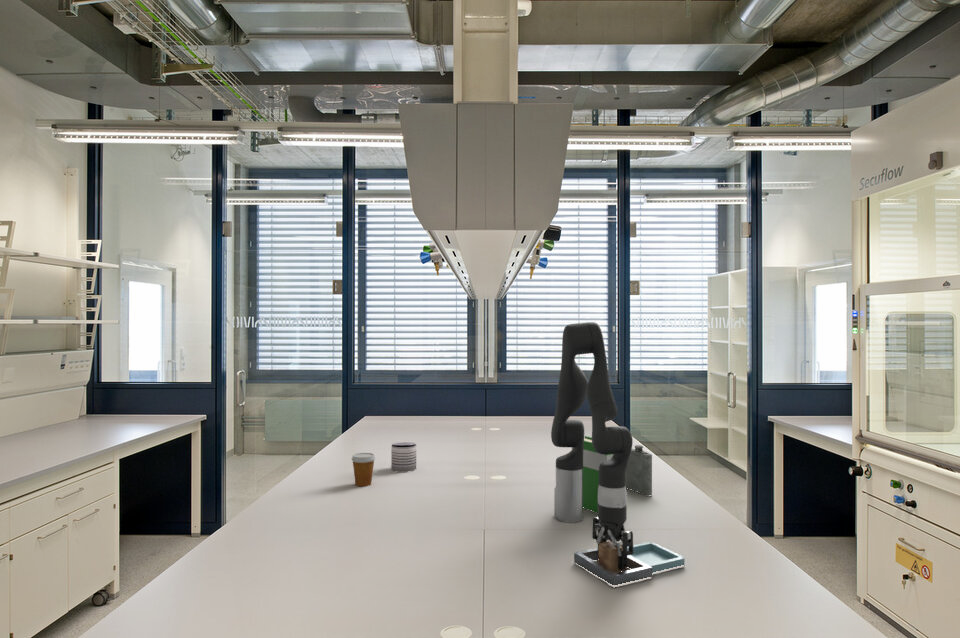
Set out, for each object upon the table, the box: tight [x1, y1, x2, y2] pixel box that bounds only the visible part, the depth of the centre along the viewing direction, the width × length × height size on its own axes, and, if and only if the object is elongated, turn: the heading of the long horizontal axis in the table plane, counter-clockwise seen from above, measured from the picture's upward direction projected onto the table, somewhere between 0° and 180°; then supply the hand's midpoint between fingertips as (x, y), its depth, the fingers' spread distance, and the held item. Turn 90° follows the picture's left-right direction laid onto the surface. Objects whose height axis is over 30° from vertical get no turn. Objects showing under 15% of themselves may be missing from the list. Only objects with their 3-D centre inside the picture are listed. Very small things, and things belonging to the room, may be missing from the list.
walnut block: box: [598, 540, 627, 573], centre depth 155 cm, size 5×5×7 cm
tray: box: [627, 541, 685, 573], centre depth 161 cm, size 13×13×2 cm
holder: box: [573, 547, 653, 585], centre depth 155 cm, size 17×12×3 cm
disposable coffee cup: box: [351, 452, 376, 487], centre depth 239 cm, size 10×10×12 cm
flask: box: [626, 444, 653, 496], centre depth 230 cm, size 4×14×18 cm, turn 28°
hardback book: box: [571, 435, 613, 514], centre depth 209 cm, size 18×7×24 cm, turn 33°
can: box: [390, 441, 417, 473], centre depth 264 cm, size 11×11×12 cm
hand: (612, 563), depth 155 cm, fingers open, 8 cm apart
